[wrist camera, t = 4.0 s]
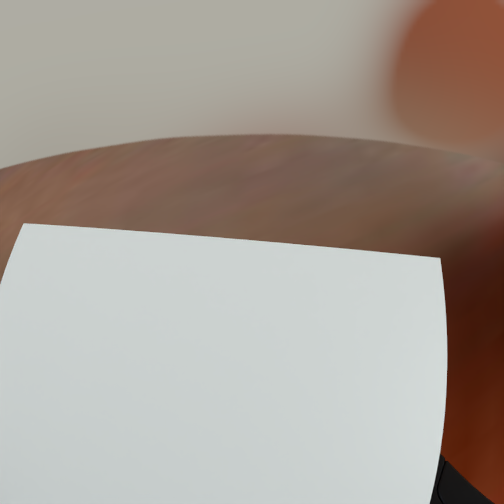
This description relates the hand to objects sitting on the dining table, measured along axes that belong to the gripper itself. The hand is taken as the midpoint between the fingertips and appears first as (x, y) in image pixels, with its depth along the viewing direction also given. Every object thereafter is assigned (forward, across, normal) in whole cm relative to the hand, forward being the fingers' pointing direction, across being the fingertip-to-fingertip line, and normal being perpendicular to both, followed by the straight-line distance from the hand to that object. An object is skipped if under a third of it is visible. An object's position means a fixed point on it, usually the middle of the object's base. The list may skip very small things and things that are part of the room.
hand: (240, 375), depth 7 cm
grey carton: (+4, 0, +6) cm, 7 cm away
